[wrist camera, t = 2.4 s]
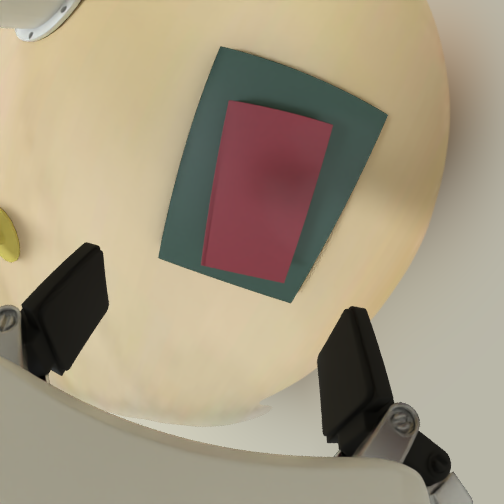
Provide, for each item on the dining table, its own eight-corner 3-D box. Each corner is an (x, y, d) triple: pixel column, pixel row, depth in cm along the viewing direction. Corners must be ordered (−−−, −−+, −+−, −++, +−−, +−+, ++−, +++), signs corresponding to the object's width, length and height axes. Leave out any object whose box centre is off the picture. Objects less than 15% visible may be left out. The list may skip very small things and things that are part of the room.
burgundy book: (234, 101, 18) (228, 99, 16) (325, 122, 19) (333, 125, 16) (208, 247, 25) (200, 265, 22) (283, 264, 25) (284, 283, 23)
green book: (224, 51, 18) (220, 46, 16) (379, 113, 19) (388, 114, 18) (164, 248, 28) (158, 258, 26) (290, 291, 29) (290, 303, 27)
